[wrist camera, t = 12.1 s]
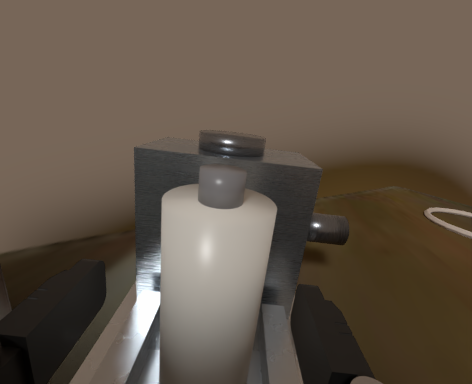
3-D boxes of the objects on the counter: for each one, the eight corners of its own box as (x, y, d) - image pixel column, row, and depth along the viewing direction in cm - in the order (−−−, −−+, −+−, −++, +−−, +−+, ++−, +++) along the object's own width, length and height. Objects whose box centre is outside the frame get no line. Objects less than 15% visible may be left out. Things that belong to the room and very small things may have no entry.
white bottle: (144, 423, 12) (141, 177, 8) (178, 317, 18) (186, 149, 14) (246, 434, 12) (293, 195, 8) (246, 325, 18) (272, 159, 14)
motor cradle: (16, 476, 10) (-78, 142, 6) (156, 253, 26) (158, 122, 22) (420, 521, 10) (615, 224, 6) (312, 271, 26) (343, 144, 22)
